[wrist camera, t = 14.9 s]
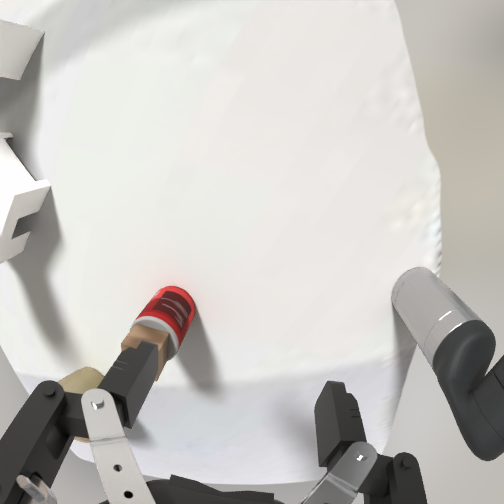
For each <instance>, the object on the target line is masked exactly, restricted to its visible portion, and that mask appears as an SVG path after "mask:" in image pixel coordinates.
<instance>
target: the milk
mask: <svg viewBox="0 0 504 504" xmlns="http://www.w3.org/2000/svg"><path fill="white" fill-rule="evenodd" d="M43 34H44V31H41V30H38V29H34V28H31V27H27V26H23V25H20V24H16V23H12V22H7V21H3V20H0V77H4V78H10V79H15V80H20V79H21V77H22V75H23V72H24V70H25V68H26V66H27V64H28V62H29V60H30V58H31V56H32V54H33V52H34V50H35V48H36V47H37V45H38V43H39V41H40V39H41V38H42V36H43Z"/></svg>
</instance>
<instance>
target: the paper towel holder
mask: <svg viewBox="0 0 504 504" xmlns="http://www.w3.org/2000/svg"><path fill="white" fill-rule="evenodd" d="M8 137H13V136H12V134H11V133H10V132H7V133H0V264H1V263H3V262H5V261H7V260H9V259H10V258H12V257H14V256H16V255H18V254H20V253H22V252H23V250H24V247H25V244H26V242H27V239H28V236H29V234H30V231H29V232H27V233H25V234H23V235H21V236H18V237H16V238H14V239H12V240H11V238H12V235H13V232H14V229H15V227H16V224H17V221H18V219H19V218H22V217H24V216H27V215H30V214H32V213H35V212H38V211H39V210H40V208H41V206H42V203H43V201H44V199H45V197H46V195H47V193H48V191H49V189H50V187H51V185H50V183H49V182H48V181H47V180H46V179H44V180H40V181H35V180H34V179H33V178H32V177H31V175H30V174H29V173H28V171H27V170H26V169H25V167H24V166H23V165H22V163H21V162H20V161H19V159H18V158H17V157H16V155H15V154H14V152H13V151H12V150H11V148H10V147H9V145H8V144H7V143H6V140H7V138H8Z"/></svg>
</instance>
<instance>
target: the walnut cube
mask: <svg viewBox="0 0 504 504" xmlns="http://www.w3.org/2000/svg"><path fill="white" fill-rule="evenodd" d="M142 340H145V341H148V342H151V343H155V344H158V372H157V376H156V378H155V381H157V380H158V378H159V376H160V374H161V372H162V370H163V368H164V366H165V364H166V362H167V360H168V342H169V333H168V332H164V331H160V330H157V329H154V328H150V327H147V326H144V325H140V324H137V323H136V324H135V326H134V327H133V328H132V329H131V331H130V332H129V334H128V335H127V336H126V338H125V339H124V340H123V342H122V343H121V348H122V351H124V350H126V349H127V348H129V347H132V348H135V349H137V347H138V345H139V344H140V342H141V341H142Z"/></svg>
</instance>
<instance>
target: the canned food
mask: <svg viewBox="0 0 504 504" xmlns="http://www.w3.org/2000/svg"><path fill="white" fill-rule="evenodd" d="M194 313H195V307H194V302H193V300H192V298H191V296H190V295H189V294H188V293H187V292H186V291H185V290H183V289H181V288H179V287H176V286H168V287H165V288H162V289H160V290H159V291H158V292H157V293H156V294H155V295H154V297H153V298H152V299H151V300H150V302H149V303H148V304H147V305H146V307H145V308H144V309H143V311H142V312H141V313H140V314H139V316H138V317H137V318H136V320H135V321H134V322H133V324H132V326H131V328H130V331H131V329H132V328H133V327H134V326H135V324H136V323H137V324H140V325H144V326H147V327H150V328H154V329H157V330H160V331H164V332H168V333H169V342H168V360H170V359H172V358H173V357H174V356H175V354H176V353H177V351H178V349H179V347H180V345H181V343H182V341H183V339H184V336H185V334H186V332H187V330H188V328H189V326H190V324H191V321H192V319H193V317H194ZM168 360H167V361H168Z"/></svg>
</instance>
